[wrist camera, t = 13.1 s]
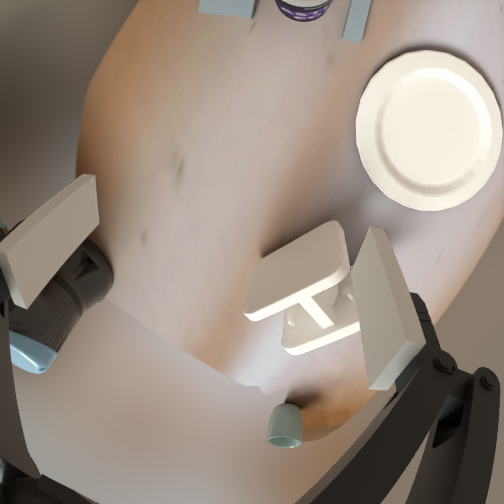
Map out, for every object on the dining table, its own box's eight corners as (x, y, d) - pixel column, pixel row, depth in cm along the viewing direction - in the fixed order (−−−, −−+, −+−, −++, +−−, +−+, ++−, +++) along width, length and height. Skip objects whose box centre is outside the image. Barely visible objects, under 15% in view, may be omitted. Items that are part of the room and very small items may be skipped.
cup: (289, 396, 68) (285, 434, 60) (309, 408, 71) (307, 443, 63) (265, 404, 72) (260, 440, 64) (286, 415, 74) (282, 449, 66)
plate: (410, 232, 41) (413, 239, 39) (317, 113, 34) (318, 116, 32) (516, 154, 30) (522, 158, 29) (443, 20, 24) (449, 19, 22)
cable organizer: (341, 208, 40) (351, 262, 31) (376, 263, 44) (390, 321, 35) (252, 260, 47) (238, 317, 38) (293, 304, 51) (288, 362, 42)
